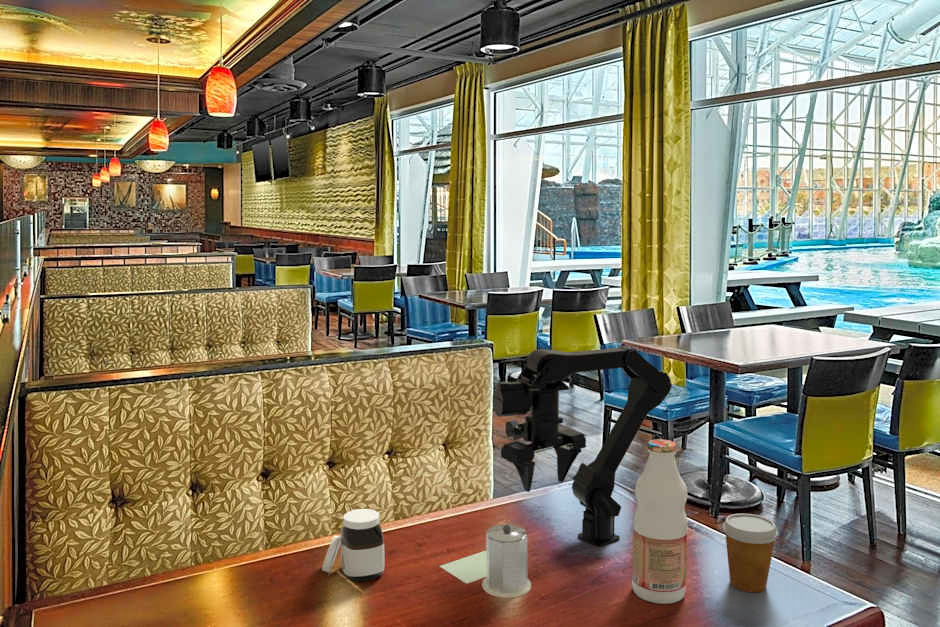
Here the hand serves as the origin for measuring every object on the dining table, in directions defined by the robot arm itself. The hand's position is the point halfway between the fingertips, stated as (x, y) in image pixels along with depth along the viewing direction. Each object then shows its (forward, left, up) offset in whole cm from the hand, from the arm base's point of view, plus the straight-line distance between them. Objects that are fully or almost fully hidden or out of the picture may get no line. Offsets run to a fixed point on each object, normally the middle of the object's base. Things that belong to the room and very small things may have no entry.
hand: (544, 486), depth 155 cm
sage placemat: (+15, -1, -13) cm, 20 cm away
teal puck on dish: (+17, +8, -13) cm, 23 cm away
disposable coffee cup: (-19, +35, -13) cm, 42 cm away
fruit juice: (-4, +27, -13) cm, 30 cm away
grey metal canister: (+17, +8, -12) cm, 23 cm away
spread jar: (+37, -14, -13) cm, 42 cm away
